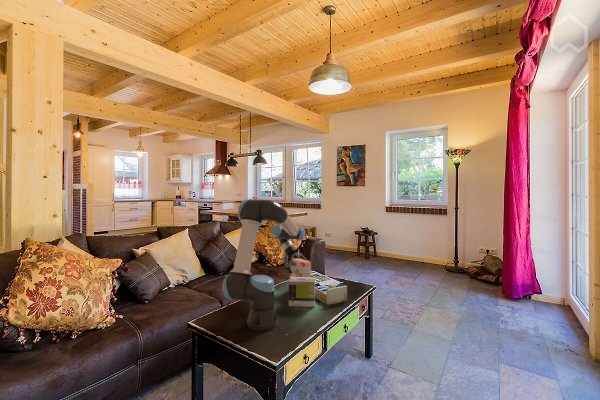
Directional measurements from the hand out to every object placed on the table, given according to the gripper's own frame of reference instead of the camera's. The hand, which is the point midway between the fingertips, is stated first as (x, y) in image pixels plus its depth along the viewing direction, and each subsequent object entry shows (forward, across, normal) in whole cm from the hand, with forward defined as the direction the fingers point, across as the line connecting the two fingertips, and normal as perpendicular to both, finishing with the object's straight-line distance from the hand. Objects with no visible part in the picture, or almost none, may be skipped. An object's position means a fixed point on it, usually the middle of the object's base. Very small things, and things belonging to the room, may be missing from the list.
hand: (302, 275), depth 191 cm
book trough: (+21, -6, +5) cm, 22 cm away
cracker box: (+7, 0, -10) cm, 12 cm away
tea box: (+18, +12, +2) cm, 22 cm away
